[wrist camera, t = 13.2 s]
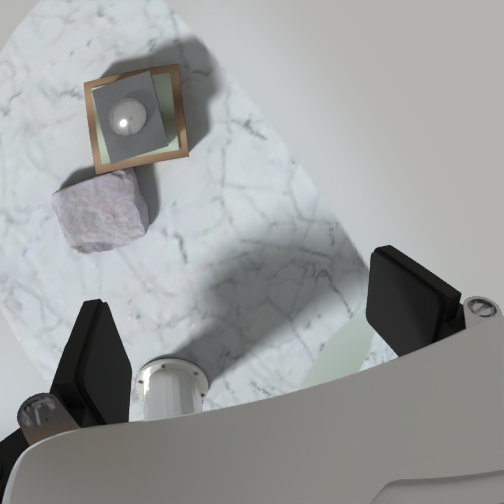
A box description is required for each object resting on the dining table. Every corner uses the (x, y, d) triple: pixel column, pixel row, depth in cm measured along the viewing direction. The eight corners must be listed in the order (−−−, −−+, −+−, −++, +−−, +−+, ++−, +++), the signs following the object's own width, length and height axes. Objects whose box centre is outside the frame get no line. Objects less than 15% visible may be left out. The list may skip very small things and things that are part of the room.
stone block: (156, 222, 43) (132, 155, 37) (155, 240, 39) (128, 168, 33) (82, 246, 42) (53, 186, 36) (75, 266, 38) (41, 201, 32)
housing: (152, 77, 30) (148, 68, 25) (169, 143, 34) (168, 146, 29) (101, 94, 30) (88, 89, 25) (118, 160, 33) (108, 166, 28)
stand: (187, 153, 39) (189, 156, 35) (103, 169, 37) (95, 175, 33) (178, 69, 34) (178, 62, 30) (92, 86, 33) (82, 82, 29)
